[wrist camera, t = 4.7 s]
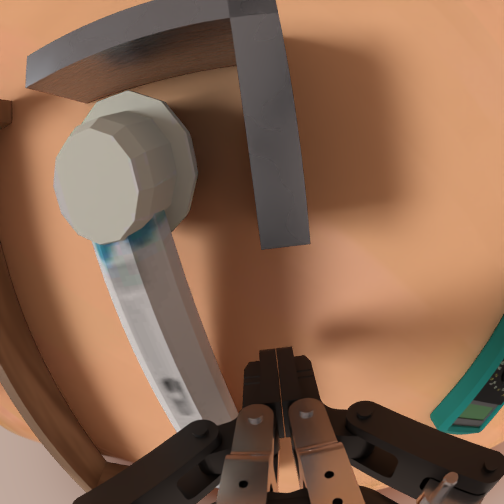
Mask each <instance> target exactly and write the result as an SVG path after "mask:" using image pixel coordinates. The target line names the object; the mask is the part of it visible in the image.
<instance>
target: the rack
mask: <svg viewBox="0 0 504 504" xmlns="http://www.w3.org/2000/svg"><path fill="white" fill-rule="evenodd" d="M10 123H12V101H8V100H1V99H0V129H2V128H3V127H5V126H7V125H8V124H10ZM0 382H1V384H2V386H3V387H4V389H5V391H6V392H7V394H8V396H9V397H10V399H11V400H12V402H13V404H14V405H15V407H16V408H17V410H18V411H19V413H20V414H21V416H22V417H23V419H24V420H25V421H26V423H27V424H28V426H29V427H30V428H31V430H32V431H33V432H34V434H35V435H36V436H37V438H38V439H39V440H40V442H41V443H42V444H43V445H44V447H45V448H46V449H47V450H48V451H49V453H50V454H51V455H52V456H53V457H54V459H55V460H56V461H57V462H58V463H59V464H60V465H61V467H62V468H63V469H64V470H65V471H66V472H67V473H68V474H69V475H70V476H71V477H72V479H74V480H75V482H76V483H77V484H78V485H79V486H80V487H81V488H82V489H83V490H84V491H85V492H86V493H87V492H89V491H90V490H92V489H94V488H96V487H97V486H99V485H100V484H102V483H104V482H105V481H107V480H109V479H110V478H112V477H113V476H115V475H117V474H118V473H120V472H121V471H123V470H124V469H126V468H127V467H129V466H127V465H120V464H116V463H110V462H107V461H106V460H105V459H104V458H103V456H102V455H101V454H100V452H99V451H98V450H97V448H96V447H95V446H94V444H93V443H92V441H91V440H90V439H89V437H88V436H87V434H86V433H85V431H84V430H83V429H82V427H81V426H80V424H79V423H78V421H77V419H76V418H75V416H74V415H73V413H72V412H71V410H70V408H69V407H68V405H67V403H66V402H65V400H64V398H63V397H62V395H61V393H60V391H59V390H58V388H57V386H56V384H55V383H54V381H53V379H52V377H51V375H50V373H49V371H48V369H47V367H46V365H45V363H44V361H43V359H42V357H41V355H40V353H39V351H38V349H37V347H36V344H35V342H34V340H33V338H32V335H31V333H30V331H29V328H28V326H27V323H26V321H25V318H24V316H23V313H22V311H21V308H20V305H19V303H18V300H17V297H16V294H15V291H14V288H13V285H12V282H11V279H10V275H9V272H8V269H7V265H6V262H5V258H4V254H3V250H2V246H1V242H0Z"/></svg>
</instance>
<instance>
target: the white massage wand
mask: <svg viewBox="0 0 504 504" xmlns="http://www.w3.org/2000/svg"><path fill="white" fill-rule="evenodd" d="M197 177H198V169H197V161H196V157H195V152H194V147H193V143H192V138H191V135H190V132H189V131H188V130H187V128H186V127H185V126H184V125H183V123H182V122H181V121H180V120H179V118H178V117H177V116H176V115H175V113H174V112H173V111H172V110H171V108H170V107H169V106H168V105H167V103H166V102H164V101H161V100H158V99H155V98H152V97H149V96H146V95H142V94H139V93H136V92H132V91H125V92H122V93H119V94H117V95H114V96H111V97H109V98H106V99H104V100H101V101H99V102H97V103H96V104H95V105H94V107H93V108H92V110H91V111H90V112H89V114H88V115H87V117H86V118H85V119H84V121H83V122H82V124H81V125H79V126H77V127H75V129H74V130H73V132H72V133H71V134H70V136H69V137H68V139H67V141H66V142H65V144H64V145H63V147H62V149H61V150H60V152H59V154H58V155H57V157H56V162H55V172H54V185H53V186H54V190H55V193H56V197H57V200H58V204H59V207H60V210H61V213H62V215H63V216H64V217H65V219H66V220H67V221H68V223H69V224H70V225H71V226H72V228H73V229H74V230H75V231H76V233H77V234H78V235H80V236H82V237H84V238H86V239H89V240H91V241H92V243H93V247H94V250H95V253H96V256H97V259H98V262H99V265H100V268H101V271H102V274H103V277H104V280H105V282H106V285H107V288H108V291H109V293H110V296H111V299H112V301H113V304H114V306H115V309H116V311H117V314H118V316H119V319H120V321H121V323H122V326H123V328H124V330H125V333H126V335H127V337H128V340H129V342H130V344H131V346H132V348H133V351H134V353H135V355H136V357H137V359H138V361H139V363H140V365H141V367H142V370H143V372H144V374H145V376H146V378H147V379H148V381H149V383H150V385H151V387H152V389H153V391H154V393H155V395H156V397H157V399H158V400H159V402H160V404H161V406H162V408H163V409H164V411H165V413H166V415H167V416H168V418H169V420H170V422H171V423H172V425H173V427H174V428H175V430H176V432H179V431H180V430H181V429H183V428H184V427H185V426H187V425H188V424H189V423H191V422H193V421H196V420H202V419H204V420H210V421H212V422H214V423H215V424H216V425H221V424H224V423H227V422H230V421H232V420H234V419H235V418H237V416H238V412H237V409H236V407H235V405H234V402H233V400H232V398H231V395H230V393H229V391H228V388H227V386H226V383H225V381H224V379H223V376H222V374H221V371H220V369H219V366H218V364H217V361H216V359H215V356H214V354H213V351H212V349H211V346H210V343H209V341H208V338H207V335H206V333H205V330H204V327H203V325H202V322H201V319H200V317H199V314H198V311H197V308H196V306H195V303H194V300H193V297H192V294H191V291H190V288H189V286H188V283H187V280H186V277H185V274H184V271H183V268H182V265H181V262H180V259H179V256H178V252H177V249H176V246H175V243H174V240H173V237H172V233H171V232H172V231H173V230H174V229H175V228H176V227H177V226H178V225H179V224H180V222H181V221H182V220H183V219H184V218H185V217H186V216H187V214H188V213H189V211H190V207H191V203H192V198H193V194H194V190H195V185H196V181H197ZM219 485H220V484H219ZM219 485H218V486H216V487H215V488H218V489H219Z"/></svg>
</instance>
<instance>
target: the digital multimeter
mask: <svg viewBox="0 0 504 504" xmlns="http://www.w3.org/2000/svg"><path fill="white" fill-rule="evenodd" d="M503 405H504V315H503V317H502V319H501V321H500V322H499V324H498V326H497V327H496V329H495V331H494V333H493V334H492V336H491V337H490V339H489V341H488V342H487V344H486V345H485V347H484V348H483V350H482V351H481V353H480V354H479V355H478V357H477V358H476V360H475V361H474V362H473V364H472V365H471V367H470V368H469V369H468V371H467V372H466V373H465V375H464V376H463V377H462V378H461V380H460V381H459V382H458V383H457V384H456V386H455V387H454V388H453V389H452V390H451V391H450V393H449V394H448V395H447V396H446V397H445V398H444V399H443V400H442V402H441V403H440V404H439V405H438V406H437V407H436V408H435V410H434V411H433V412H432V413H431V415H430V418H431V420H432V421H433V423H434V425H435V427H436V428H437V430H439V431H442V432H444V433H449V434H472V433H479V432H481V431H482V430H483V429H484V428H485V427H486V425H487V424H488V423H489V422H490V421H491V420H492V419H493V417H494V416H495V415H496V414H497V412H498V411H499V410H500V409H501V408H502V406H503Z"/></svg>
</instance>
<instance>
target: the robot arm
mask: <svg viewBox="0 0 504 504" xmlns="http://www.w3.org/2000/svg"><path fill="white" fill-rule="evenodd" d="M276 350H277V359H278V368H277V360H276V352H275V349H267V350H260V351H259V356H260V361H255V362H249V363H248V365H247V366H246V368H245V369H244V386H243V406H242V410H241V411H240V412H239V414H238V416H237V418H235V419H234V420H232V421H230V422H227V423H224V424H221V425H216V424H215V423H214V422H212V421H210V420H204V419H202V420H196V421H193V422H191V423H189V424H188V425H187V426H185V427H184V428H183V429H181V430H180V431H179V432H177V433H176V434H175V435H173V436H172V437H171V438H169V439H168V440H166V441H165V442H164V443H162V444H161V445H159V446H158V447H157V448H155V449H154V450H152V451H151V452H150V453H148V454H147V455H145V456H144V457H142V458H141V459H139V460H138V461H136V462H135V463H133V464H132V465H130V466H129V467H127V468H126V469H124V470H123V471H121V472H120V473H118V474H117V475H115V476H113V477H112V478H110V479H109V480H107V481H105V482H104V483H102V484H100V485H99V486H97V487H96V488H94V489H92V490H90V491H89V492H87V493H85V494H84V495H82V496H80V497H78V498H77V499H76V500H75V501H74V502H73V504H196V503H198V502H199V501H200V500H201V499H202V498H204V497H205V496H206V495H207V494H208V493H210V492H211V491H212V490H213V489H214V488H215V487H216V486H218V485H219V484H220V485H219V491H218V495H217V500H216V502H214V503H212V504H398V503H396V502H394V501H393V500H391V499H389V498H387V497H385V496H384V495H382V494H380V493H379V492H377V491H375V490H373V489H370V488H367V487H364V486H359V485H358V483H357V480H356V477H355V475H354V472H353V469H352V467H351V465H352V466H353V467H355V468H357V469H359V470H360V471H362V472H364V473H366V474H367V475H369V476H371V477H373V478H375V479H377V480H378V481H380V482H382V483H384V484H386V485H388V486H390V487H392V488H394V489H396V490H398V491H400V492H402V493H404V494H406V495H408V496H410V497H412V498H414V499H417V500H416V504H481V502H482V500H483V498H484V496H485V495H486V494H487V493H488V492H489V491H490V490H491V489H492V488H493V487H494V486H495V484H496V483H497V482H498V481H499V480H500V479H501V477H502V476H503V475H504V456H503V455H502V454H501V453H500V452H498V451H495V450H492V449H489V448H486V447H483V446H480V445H477V444H474V443H471V442H468V441H466V440H463V439H460V438H458V437H455V436H452V435H450V434H447V433H444V432H442V431H439V430H437V429H434V428H432V427H429V426H427V425H424V424H422V423H420V422H417V421H415V420H413V419H410V418H408V417H406V416H403V415H401V414H399V413H396V412H394V411H392V410H390V409H387V408H385V407H383V406H381V405H379V404H377V403H374V402H371V401H360V402H356V403H354V404H352V405H351V406H350V407H349V408H348V410H340V409H333V408H330V407H328V406H326V405H324V404H323V403H322V401H321V399H320V396H319V392H318V388H317V384H316V380H315V376H314V372H313V368H312V364H311V361H310V360H309V359H308V358H307V357H306V356H305V355H302V356H295V357H294V355H293V350H292V346H291V347H283V348H276ZM278 369H279V376H278ZM279 379H280V385H279ZM280 388H281V395H280ZM281 398H282V406H281ZM282 407H283V416H284V424H285V432H286V437H291V444H292V453H293V457H294V462H295V467H296V471H297V476H298V481H299V485H300V490H297V491H294V492H291V493H279V492H278V481H279V450H280V438H284V427H283V416H282Z"/></svg>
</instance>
